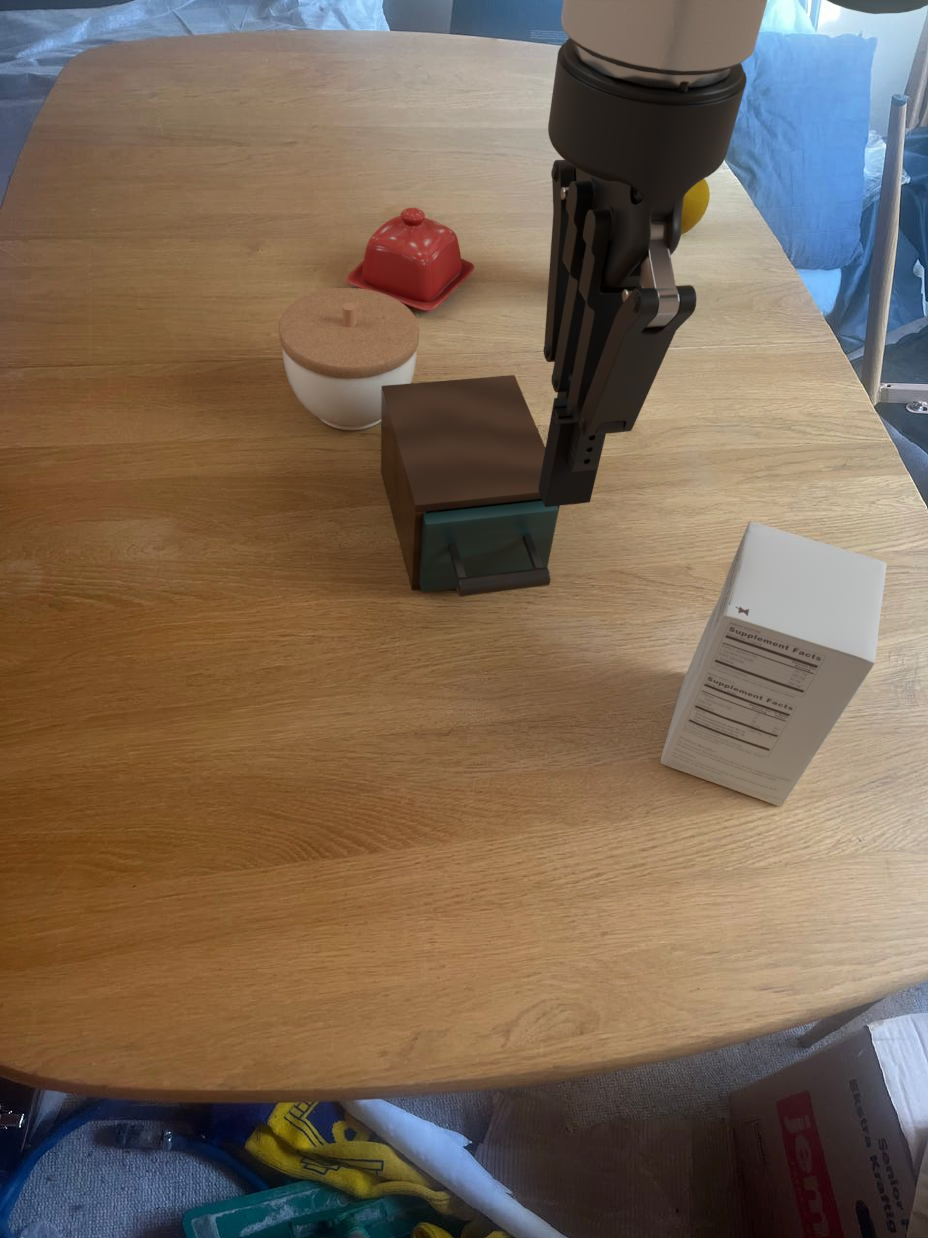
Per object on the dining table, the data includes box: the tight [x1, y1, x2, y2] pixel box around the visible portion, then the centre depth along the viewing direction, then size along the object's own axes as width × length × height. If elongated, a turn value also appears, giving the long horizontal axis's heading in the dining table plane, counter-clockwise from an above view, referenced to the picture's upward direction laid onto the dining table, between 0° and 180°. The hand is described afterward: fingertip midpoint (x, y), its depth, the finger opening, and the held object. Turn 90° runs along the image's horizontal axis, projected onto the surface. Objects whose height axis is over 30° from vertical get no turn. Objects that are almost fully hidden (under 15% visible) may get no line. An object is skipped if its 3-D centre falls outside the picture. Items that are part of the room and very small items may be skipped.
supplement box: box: [660, 520, 888, 807], centre depth 65 cm, size 10×9×17 cm
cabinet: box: [380, 374, 561, 591], centre depth 81 cm, size 15×12×10 cm
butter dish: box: [345, 207, 475, 312], centre depth 105 cm, size 12×12×8 cm
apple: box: [681, 178, 711, 235], centre depth 117 cm, size 6×6×8 cm
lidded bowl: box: [278, 287, 420, 431], centre depth 89 cm, size 13×13×11 cm
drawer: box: [419, 499, 559, 598], centre depth 78 cm, size 18×10×8 cm, turn 13°
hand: (564, 495), depth 55 cm, fingers closed
